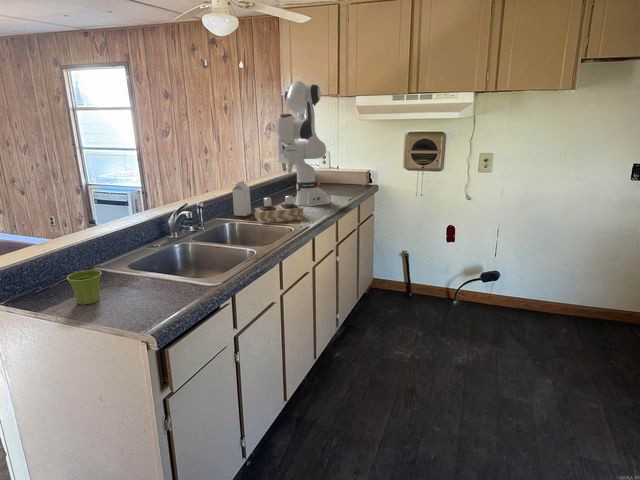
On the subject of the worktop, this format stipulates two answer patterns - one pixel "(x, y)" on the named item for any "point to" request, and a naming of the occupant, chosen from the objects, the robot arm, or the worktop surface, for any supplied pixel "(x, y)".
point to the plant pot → (85, 286)
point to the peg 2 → (289, 200)
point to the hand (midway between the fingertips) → (287, 172)
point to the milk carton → (241, 199)
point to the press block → (278, 213)
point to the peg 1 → (267, 203)
